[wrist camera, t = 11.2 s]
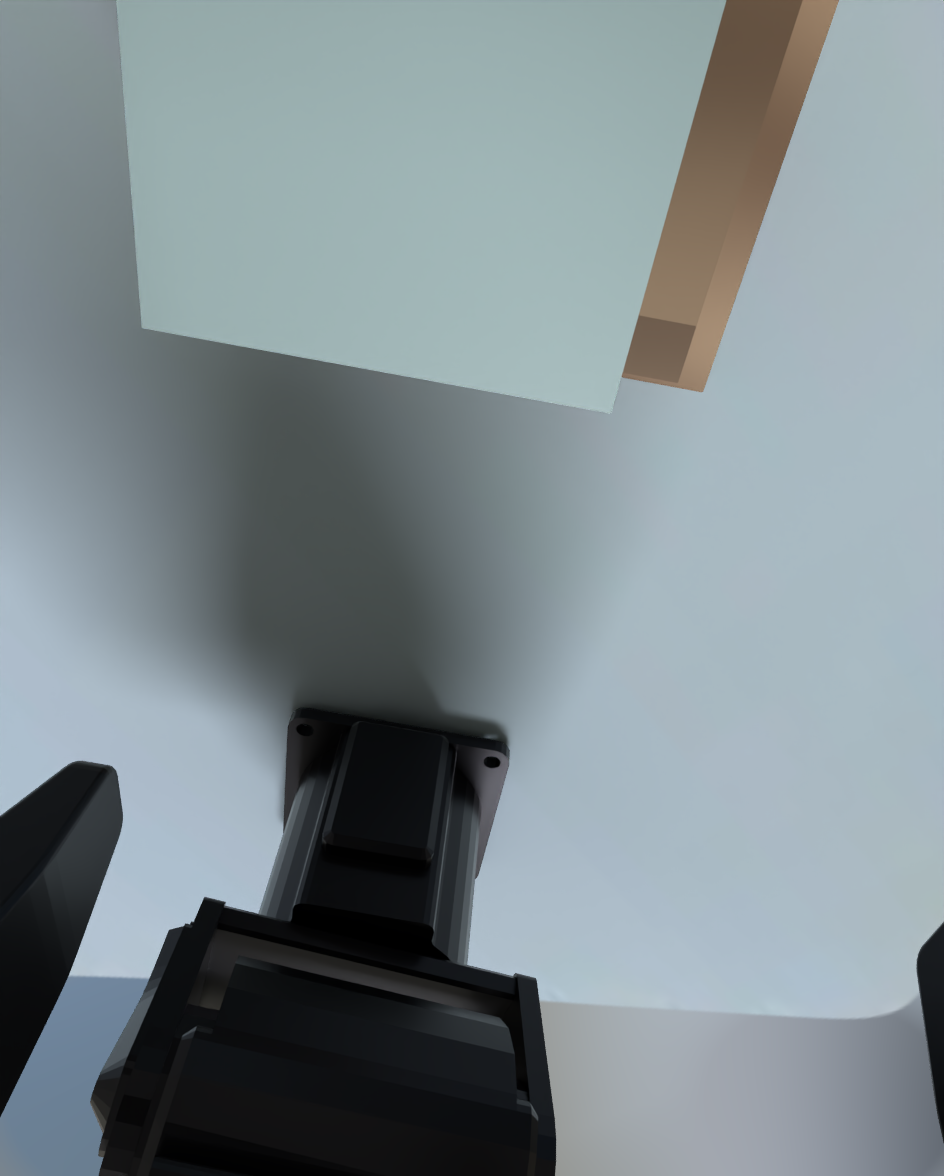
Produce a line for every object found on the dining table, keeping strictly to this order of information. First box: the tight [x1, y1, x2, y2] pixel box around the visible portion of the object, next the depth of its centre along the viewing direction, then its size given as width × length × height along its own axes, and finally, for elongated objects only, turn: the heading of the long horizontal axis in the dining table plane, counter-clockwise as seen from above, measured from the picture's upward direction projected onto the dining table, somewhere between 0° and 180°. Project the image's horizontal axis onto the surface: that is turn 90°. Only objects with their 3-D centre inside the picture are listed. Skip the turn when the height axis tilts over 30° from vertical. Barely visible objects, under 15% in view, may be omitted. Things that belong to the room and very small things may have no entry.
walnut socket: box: [622, 0, 839, 392], centre depth 13 cm, size 11×11×4 cm
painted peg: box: [116, 0, 726, 414], centre depth 11 cm, size 5×5×9 cm
